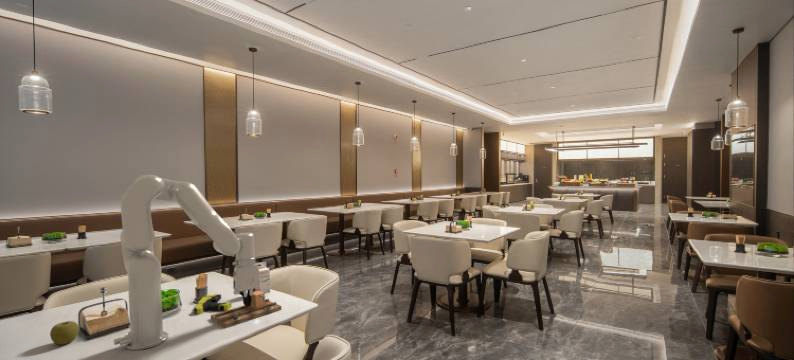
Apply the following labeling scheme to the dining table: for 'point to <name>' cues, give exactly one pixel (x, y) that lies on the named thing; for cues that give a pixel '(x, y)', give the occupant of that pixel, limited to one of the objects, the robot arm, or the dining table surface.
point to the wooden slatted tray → (244, 314)
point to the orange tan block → (258, 299)
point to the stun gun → (211, 304)
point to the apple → (64, 332)
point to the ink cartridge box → (264, 278)
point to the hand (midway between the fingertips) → (247, 305)
